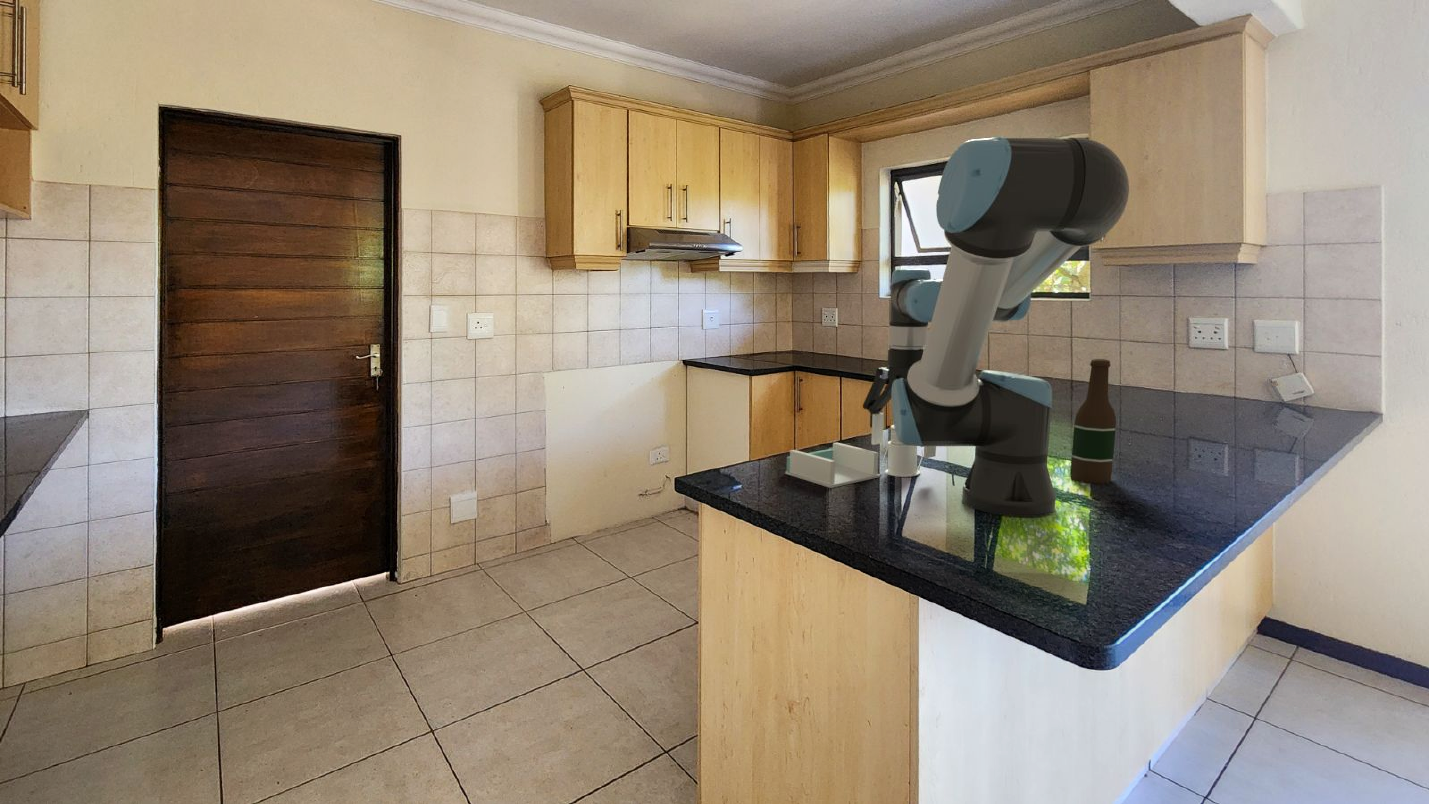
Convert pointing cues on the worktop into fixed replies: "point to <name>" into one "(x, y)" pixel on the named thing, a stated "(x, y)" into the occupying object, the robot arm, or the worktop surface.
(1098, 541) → the worktop surface
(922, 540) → the worktop surface
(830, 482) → the holder
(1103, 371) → the beer bottle
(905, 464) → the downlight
